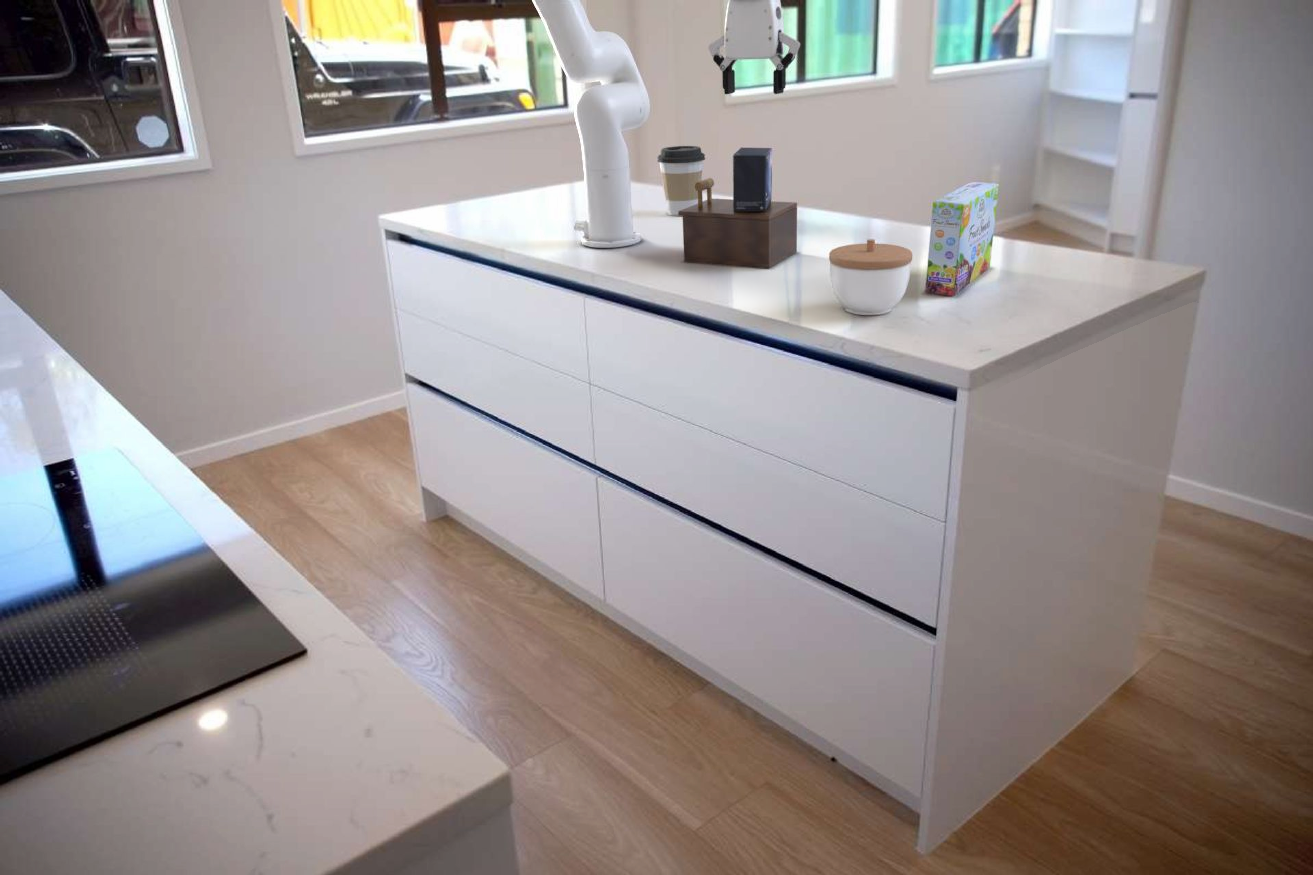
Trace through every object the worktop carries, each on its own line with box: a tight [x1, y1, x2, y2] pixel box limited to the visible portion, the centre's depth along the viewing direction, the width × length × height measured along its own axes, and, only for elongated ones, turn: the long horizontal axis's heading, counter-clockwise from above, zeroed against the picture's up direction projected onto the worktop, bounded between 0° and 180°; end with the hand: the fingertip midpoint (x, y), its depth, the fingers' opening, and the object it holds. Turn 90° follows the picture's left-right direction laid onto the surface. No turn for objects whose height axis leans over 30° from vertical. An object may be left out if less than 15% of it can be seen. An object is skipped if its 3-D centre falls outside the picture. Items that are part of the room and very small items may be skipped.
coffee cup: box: [656, 145, 706, 217], centre depth 235 cm, size 11×11×15 cm
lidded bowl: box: [828, 238, 913, 316], centre depth 156 cm, size 13×13×11 cm
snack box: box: [924, 181, 1000, 297], centre depth 168 cm, size 21×6×15 cm, turn 148°
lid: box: [678, 177, 798, 220], centre depth 190 cm, size 19×14×6 cm
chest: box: [682, 206, 798, 270], centre depth 192 cm, size 18×14×9 cm
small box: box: [732, 147, 773, 212], centre depth 187 cm, size 11×6×10 cm, turn 168°
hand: (753, 93), depth 181 cm, fingers open, 9 cm apart
